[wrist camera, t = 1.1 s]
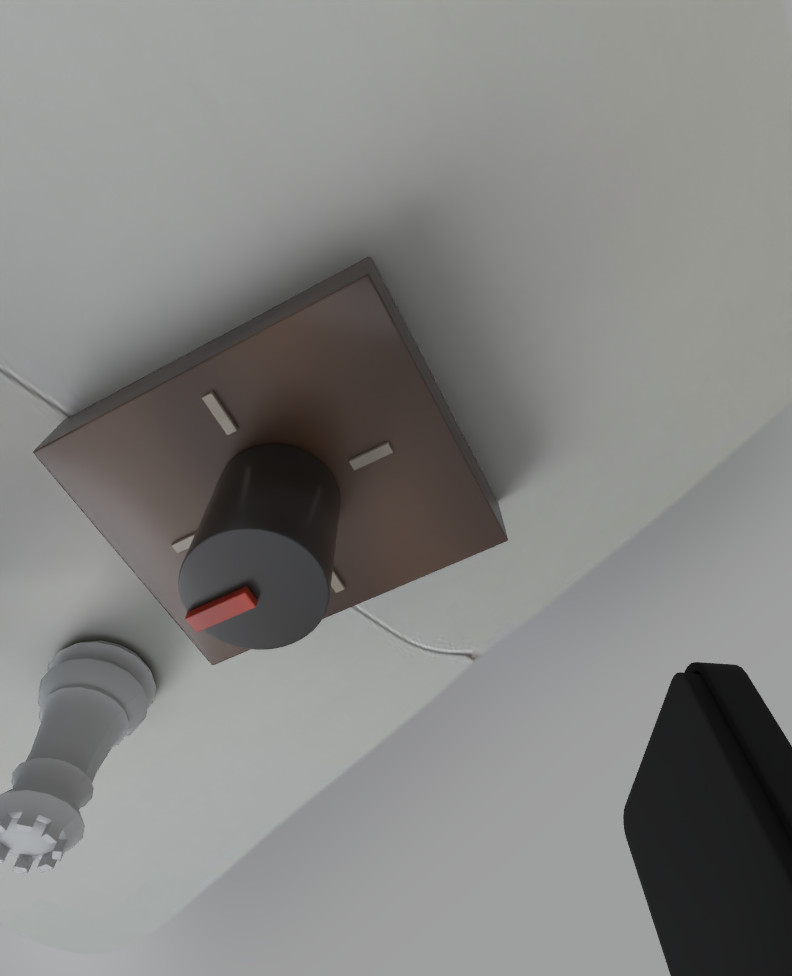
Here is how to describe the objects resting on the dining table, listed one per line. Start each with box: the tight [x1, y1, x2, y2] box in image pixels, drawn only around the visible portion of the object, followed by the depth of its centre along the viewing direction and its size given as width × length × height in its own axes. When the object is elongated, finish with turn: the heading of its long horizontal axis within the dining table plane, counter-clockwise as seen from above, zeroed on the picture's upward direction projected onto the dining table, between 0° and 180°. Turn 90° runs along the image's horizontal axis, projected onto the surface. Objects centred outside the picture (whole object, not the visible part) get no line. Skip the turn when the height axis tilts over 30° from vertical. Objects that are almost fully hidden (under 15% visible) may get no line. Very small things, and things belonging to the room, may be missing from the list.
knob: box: [178, 444, 340, 649], centre depth 21 cm, size 4×4×5 cm
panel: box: [33, 257, 508, 665], centre depth 25 cm, size 12×10×3 cm
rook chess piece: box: [0, 640, 156, 873], centre depth 27 cm, size 4×4×8 cm
